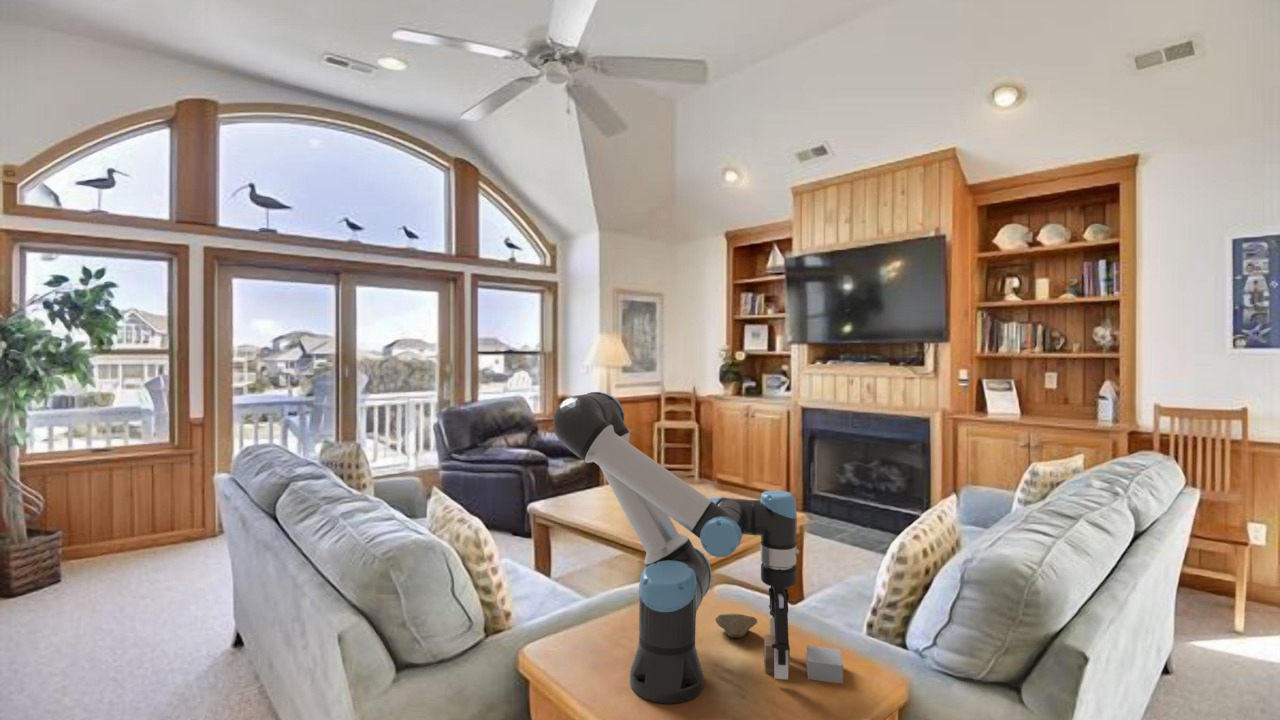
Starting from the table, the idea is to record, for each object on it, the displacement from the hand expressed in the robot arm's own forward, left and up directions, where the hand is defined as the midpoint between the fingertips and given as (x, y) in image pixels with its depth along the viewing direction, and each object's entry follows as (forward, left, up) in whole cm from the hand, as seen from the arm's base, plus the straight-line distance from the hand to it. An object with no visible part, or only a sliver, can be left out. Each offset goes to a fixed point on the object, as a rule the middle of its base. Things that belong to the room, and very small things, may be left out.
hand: (778, 661), depth 130 cm
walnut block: (0, 0, -2) cm, 2 cm away
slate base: (+10, 0, -2) cm, 10 cm away
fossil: (-9, +14, -2) cm, 16 cm away
